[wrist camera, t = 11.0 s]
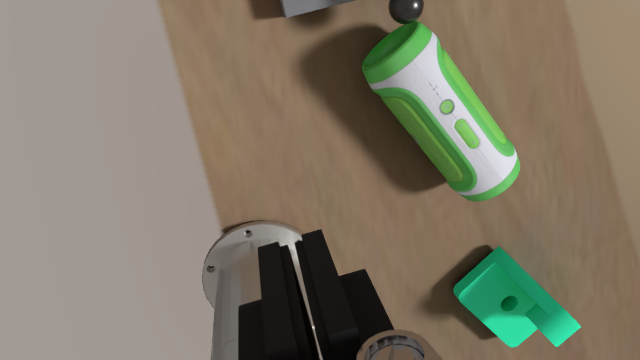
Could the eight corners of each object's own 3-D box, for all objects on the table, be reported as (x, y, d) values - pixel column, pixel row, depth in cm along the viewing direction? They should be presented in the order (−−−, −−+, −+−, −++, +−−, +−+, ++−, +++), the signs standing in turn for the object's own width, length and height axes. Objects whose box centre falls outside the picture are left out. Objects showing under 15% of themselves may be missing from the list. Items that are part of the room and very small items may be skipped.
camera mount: (445, 284, 56) (487, 341, 47) (494, 241, 55) (546, 290, 46) (501, 336, 61) (550, 397, 51) (547, 297, 60) (606, 352, 50)
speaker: (348, 67, 46) (368, 78, 39) (406, 15, 45) (437, 16, 38) (447, 188, 52) (479, 216, 45) (499, 144, 51) (540, 166, 44)
